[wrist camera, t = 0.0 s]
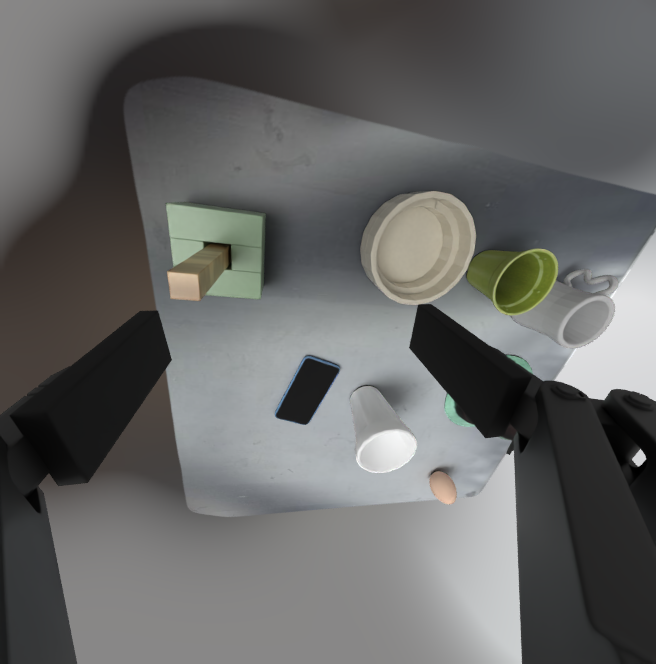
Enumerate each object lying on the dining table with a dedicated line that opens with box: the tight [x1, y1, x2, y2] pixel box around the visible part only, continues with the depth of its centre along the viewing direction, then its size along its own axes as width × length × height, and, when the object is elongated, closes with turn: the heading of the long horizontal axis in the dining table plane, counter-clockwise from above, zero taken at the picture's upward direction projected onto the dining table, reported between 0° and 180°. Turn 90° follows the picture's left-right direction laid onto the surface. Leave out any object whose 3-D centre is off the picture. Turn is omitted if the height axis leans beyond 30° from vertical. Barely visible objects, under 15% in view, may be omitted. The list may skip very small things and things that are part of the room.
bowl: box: [360, 191, 476, 305], centre depth 37 cm, size 14×14×6 cm
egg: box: [430, 471, 457, 504], centre depth 65 cm, size 6×6×8 cm
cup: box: [350, 386, 417, 473], centre depth 47 cm, size 10×10×13 cm
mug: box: [511, 269, 618, 349], centre depth 43 cm, size 12×9×10 cm
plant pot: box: [467, 249, 558, 315], centre depth 40 cm, size 9×9×9 cm
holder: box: [166, 202, 266, 299], centre depth 33 cm, size 10×10×6 cm
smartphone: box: [275, 356, 340, 425], centre depth 49 cm, size 7×1×15 cm
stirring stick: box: [167, 242, 232, 301], centre depth 28 cm, size 2×2×18 cm
